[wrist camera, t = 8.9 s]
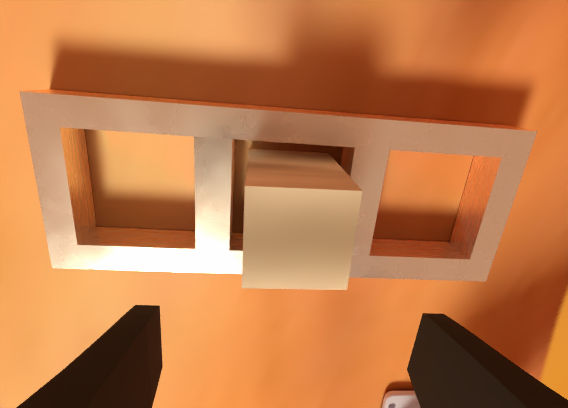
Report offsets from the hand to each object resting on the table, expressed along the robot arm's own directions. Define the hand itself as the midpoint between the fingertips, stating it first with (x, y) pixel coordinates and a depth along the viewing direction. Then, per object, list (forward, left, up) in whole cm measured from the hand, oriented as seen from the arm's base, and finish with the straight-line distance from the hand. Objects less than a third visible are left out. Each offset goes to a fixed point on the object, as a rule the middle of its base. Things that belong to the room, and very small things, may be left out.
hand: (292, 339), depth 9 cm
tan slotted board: (+1, 0, -9) cm, 9 cm away
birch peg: (+1, 0, -9) cm, 9 cm away
